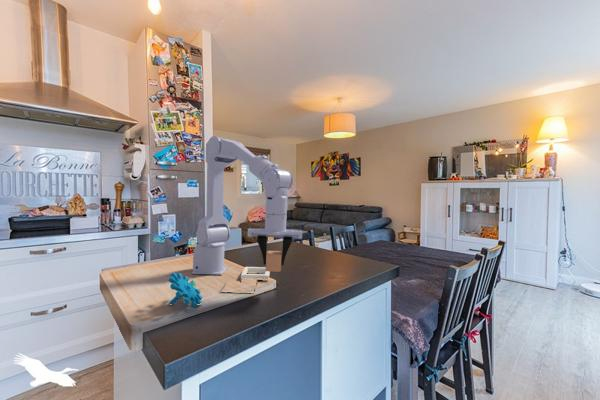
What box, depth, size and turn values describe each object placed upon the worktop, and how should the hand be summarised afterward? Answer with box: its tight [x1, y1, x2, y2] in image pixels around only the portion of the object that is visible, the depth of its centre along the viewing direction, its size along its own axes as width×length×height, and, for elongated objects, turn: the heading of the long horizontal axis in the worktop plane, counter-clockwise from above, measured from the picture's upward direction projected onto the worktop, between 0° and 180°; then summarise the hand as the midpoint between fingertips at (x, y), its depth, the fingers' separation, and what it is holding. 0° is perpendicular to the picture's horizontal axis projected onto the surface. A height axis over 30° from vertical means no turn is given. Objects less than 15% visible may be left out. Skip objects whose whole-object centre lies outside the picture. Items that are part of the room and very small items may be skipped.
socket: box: [240, 266, 271, 279], centre depth 86 cm, size 8×8×2 cm
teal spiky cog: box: [168, 272, 204, 308], centre depth 64 cm, size 11×6×10 cm
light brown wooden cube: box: [265, 250, 282, 273], centre depth 72 cm, size 4×4×4 cm
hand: (273, 263), depth 72 cm, fingers closed on light brown wooden cube, 4 cm apart
